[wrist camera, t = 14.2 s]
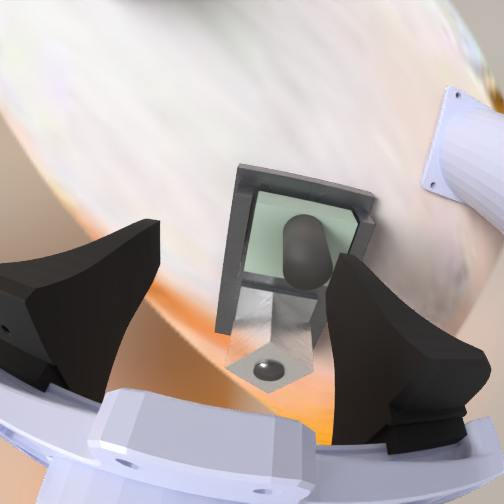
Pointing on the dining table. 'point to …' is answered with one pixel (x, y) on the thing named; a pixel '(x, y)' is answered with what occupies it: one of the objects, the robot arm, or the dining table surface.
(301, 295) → the press
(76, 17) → the dining table surface
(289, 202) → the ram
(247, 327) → the block
